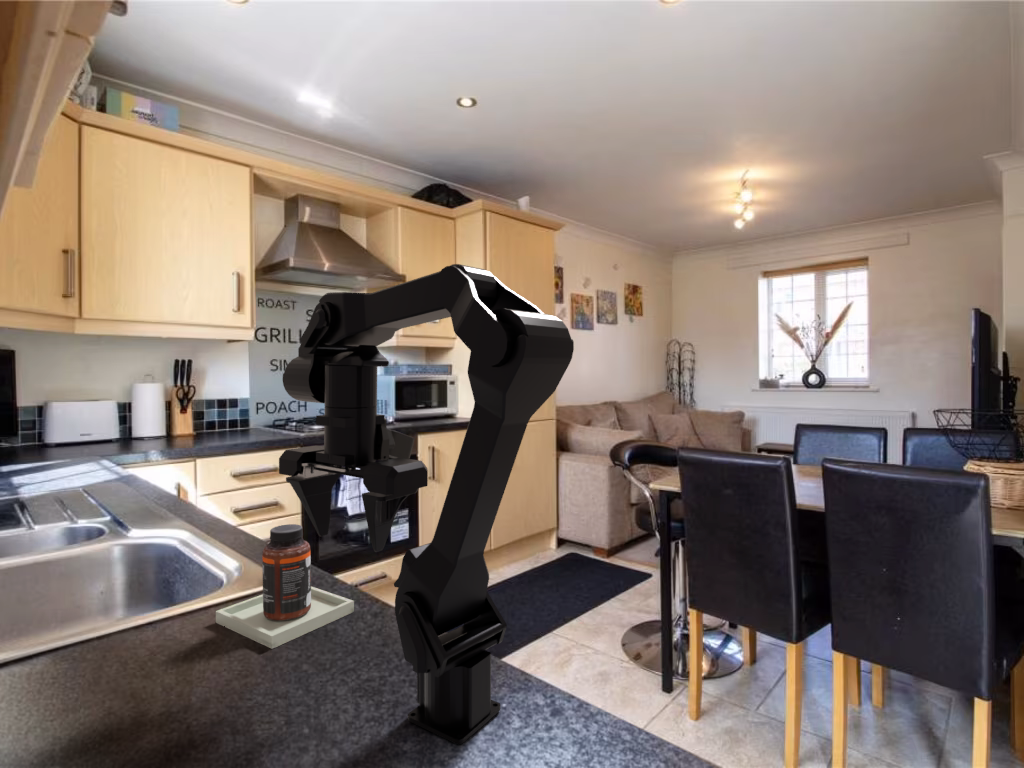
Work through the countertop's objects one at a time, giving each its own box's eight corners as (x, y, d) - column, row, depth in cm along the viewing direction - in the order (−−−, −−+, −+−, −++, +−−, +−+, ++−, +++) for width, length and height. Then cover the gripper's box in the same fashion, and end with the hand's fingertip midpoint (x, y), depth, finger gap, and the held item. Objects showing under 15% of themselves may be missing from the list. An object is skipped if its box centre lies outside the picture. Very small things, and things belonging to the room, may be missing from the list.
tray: (354, 611, 76) (353, 600, 76) (272, 648, 66) (271, 636, 66) (298, 591, 83) (297, 581, 83) (215, 622, 72) (215, 611, 72)
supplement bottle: (321, 608, 75) (320, 525, 75) (285, 626, 70) (284, 537, 70) (289, 600, 78) (288, 519, 78) (252, 617, 73) (251, 530, 72)
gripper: (460, 407, 65) (458, 540, 66) (350, 399, 75) (349, 514, 76) (390, 413, 56) (389, 568, 56) (276, 403, 66) (275, 534, 66)
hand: (349, 542), depth 64 cm, fingers open, 9 cm apart
